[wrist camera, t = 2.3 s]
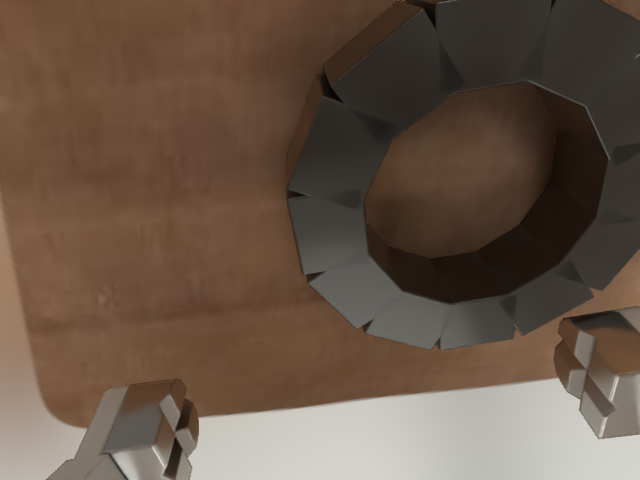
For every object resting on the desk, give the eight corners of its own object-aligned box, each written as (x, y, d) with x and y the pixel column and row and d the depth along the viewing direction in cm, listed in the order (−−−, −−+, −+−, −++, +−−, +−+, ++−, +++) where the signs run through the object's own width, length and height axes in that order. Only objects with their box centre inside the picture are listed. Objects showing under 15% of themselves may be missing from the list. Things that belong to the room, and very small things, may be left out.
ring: (318, 319, 20) (322, 369, 18) (257, 21, 14) (249, 33, 11) (589, 276, 20) (634, 321, 17) (659, -50, 13) (748, -55, 11)
